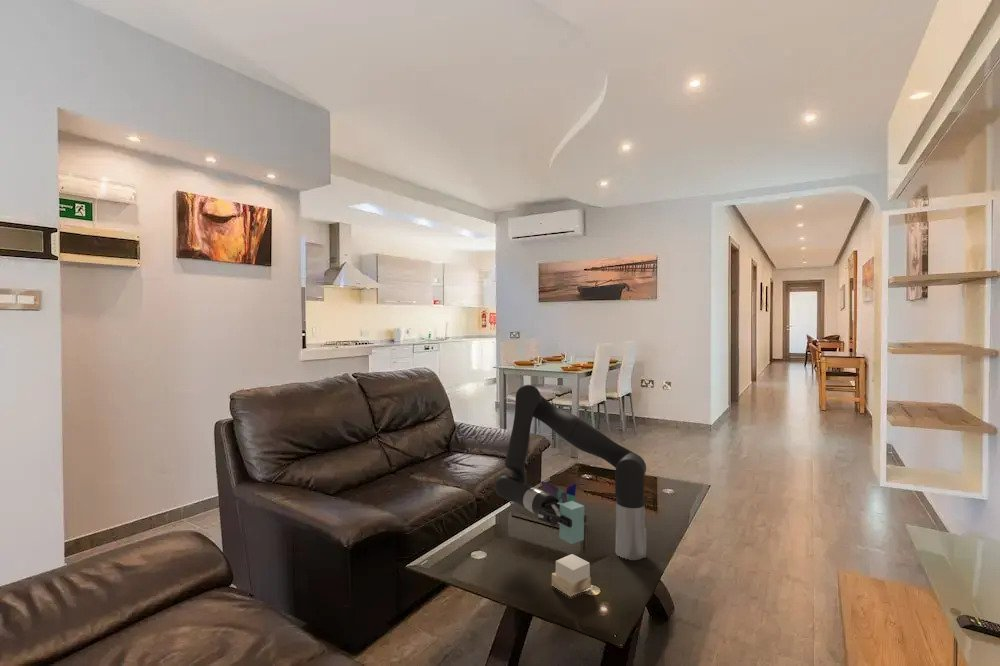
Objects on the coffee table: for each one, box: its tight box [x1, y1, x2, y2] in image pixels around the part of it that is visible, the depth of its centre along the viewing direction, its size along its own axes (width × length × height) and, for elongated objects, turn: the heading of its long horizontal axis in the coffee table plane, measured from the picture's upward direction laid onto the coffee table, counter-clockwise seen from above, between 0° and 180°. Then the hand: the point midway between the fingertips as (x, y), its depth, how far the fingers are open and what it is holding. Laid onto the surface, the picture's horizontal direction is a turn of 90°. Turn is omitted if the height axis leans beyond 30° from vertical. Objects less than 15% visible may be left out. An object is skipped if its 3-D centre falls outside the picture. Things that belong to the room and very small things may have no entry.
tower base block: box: [551, 571, 592, 597], centre depth 145 cm, size 8×8×4 cm
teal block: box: [558, 501, 585, 545], centre depth 144 cm, size 5×5×10 cm
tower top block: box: [555, 553, 591, 584], centre depth 145 cm, size 7×7×4 cm
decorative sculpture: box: [540, 476, 585, 503], centre depth 197 cm, size 17×18×15 cm
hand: (578, 521), depth 142 cm, fingers closed on teal block, 5 cm apart
